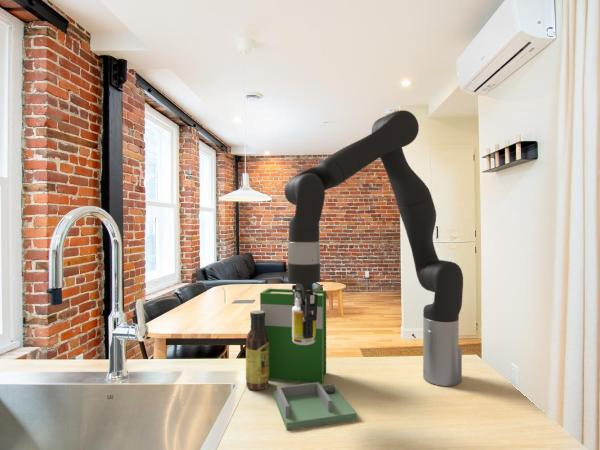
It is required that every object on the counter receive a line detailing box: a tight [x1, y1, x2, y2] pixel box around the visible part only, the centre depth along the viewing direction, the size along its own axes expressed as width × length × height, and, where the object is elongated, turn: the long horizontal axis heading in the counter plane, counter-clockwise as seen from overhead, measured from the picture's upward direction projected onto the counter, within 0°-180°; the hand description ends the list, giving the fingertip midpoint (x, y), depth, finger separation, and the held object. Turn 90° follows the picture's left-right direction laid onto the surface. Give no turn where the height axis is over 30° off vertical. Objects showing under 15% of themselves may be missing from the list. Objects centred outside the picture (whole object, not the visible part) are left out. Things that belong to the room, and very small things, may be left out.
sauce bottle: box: [245, 309, 270, 391], centre depth 99 cm, size 7×6×20 cm
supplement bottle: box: [292, 298, 316, 345], centre depth 86 cm, size 6×6×10 cm
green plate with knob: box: [273, 382, 358, 431], centre depth 88 cm, size 16×15×4 cm
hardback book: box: [259, 288, 327, 385], centre depth 106 cm, size 18×7×24 cm, turn 78°
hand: (304, 333), depth 86 cm, fingers closed on supplement bottle, 5 cm apart
